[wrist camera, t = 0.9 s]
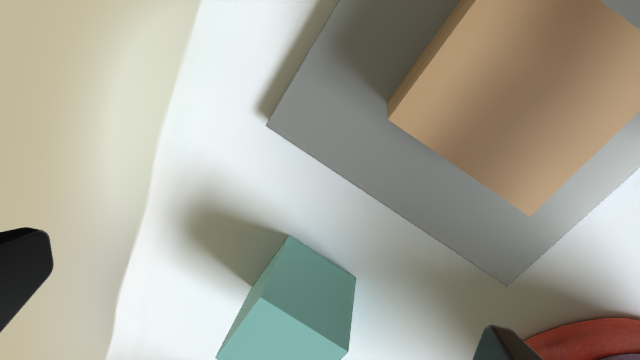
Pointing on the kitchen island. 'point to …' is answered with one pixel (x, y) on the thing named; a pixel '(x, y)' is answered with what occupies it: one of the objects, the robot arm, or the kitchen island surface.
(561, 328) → the stacking bear
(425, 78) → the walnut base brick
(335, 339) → the teal brick
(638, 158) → the baseplate
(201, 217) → the kitchen island surface
